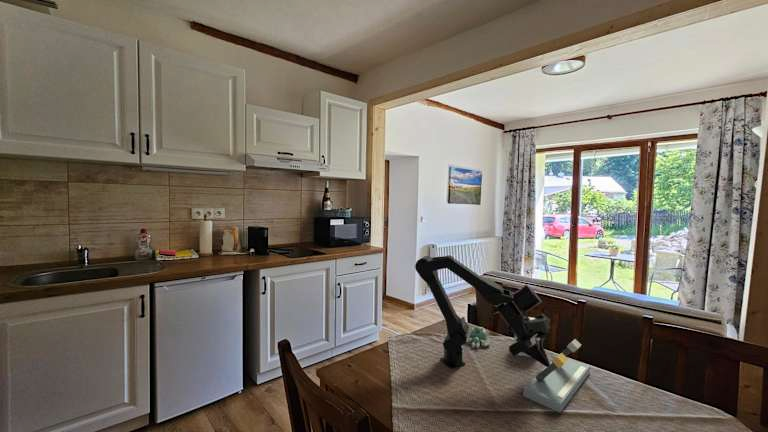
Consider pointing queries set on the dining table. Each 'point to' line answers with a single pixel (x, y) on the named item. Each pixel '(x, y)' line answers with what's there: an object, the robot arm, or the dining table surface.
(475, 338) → the stuffed animal
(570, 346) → the on lever
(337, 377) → the dining table surface
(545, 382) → the switch panel
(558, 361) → the lever
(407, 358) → the dining table surface
